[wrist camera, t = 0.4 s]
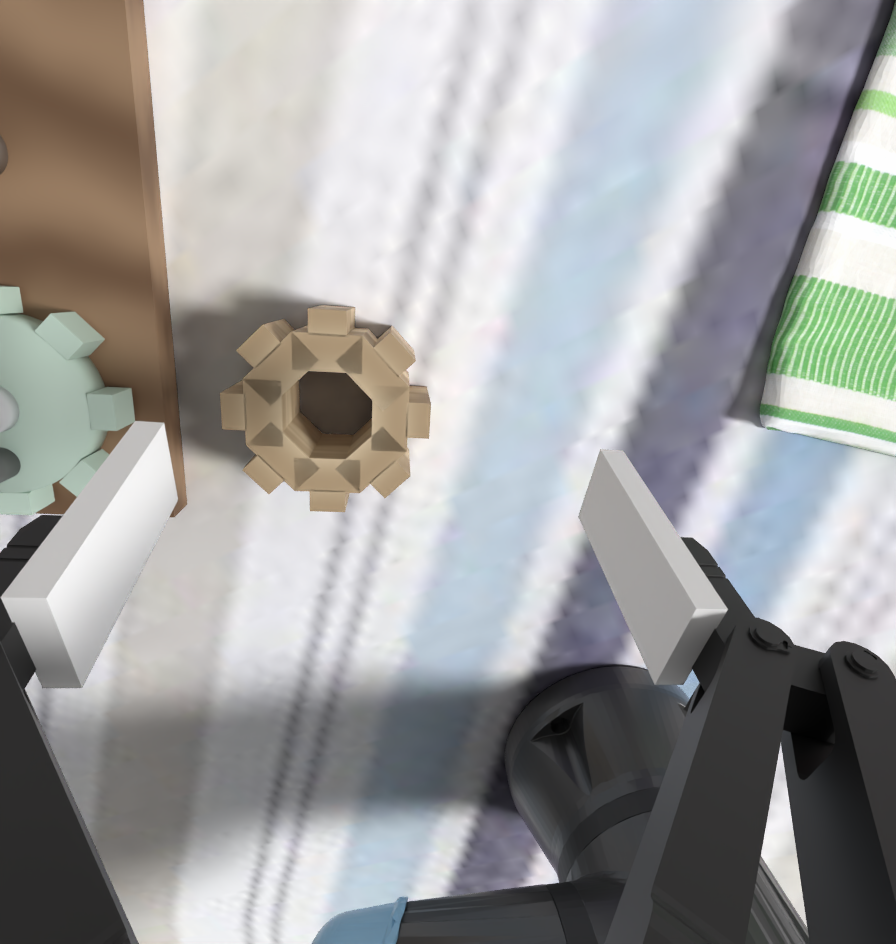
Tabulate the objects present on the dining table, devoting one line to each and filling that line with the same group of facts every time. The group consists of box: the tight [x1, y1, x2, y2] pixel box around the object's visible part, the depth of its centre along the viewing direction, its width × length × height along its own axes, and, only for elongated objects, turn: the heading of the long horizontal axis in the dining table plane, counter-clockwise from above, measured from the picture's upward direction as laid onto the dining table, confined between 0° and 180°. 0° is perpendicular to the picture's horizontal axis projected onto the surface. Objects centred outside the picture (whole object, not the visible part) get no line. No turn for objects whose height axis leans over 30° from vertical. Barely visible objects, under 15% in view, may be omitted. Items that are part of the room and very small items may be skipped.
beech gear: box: [220, 305, 431, 512], centre depth 30 cm, size 10×10×5 cm
